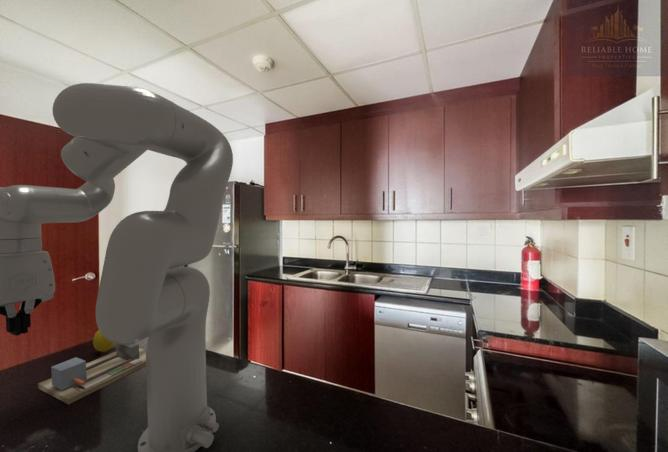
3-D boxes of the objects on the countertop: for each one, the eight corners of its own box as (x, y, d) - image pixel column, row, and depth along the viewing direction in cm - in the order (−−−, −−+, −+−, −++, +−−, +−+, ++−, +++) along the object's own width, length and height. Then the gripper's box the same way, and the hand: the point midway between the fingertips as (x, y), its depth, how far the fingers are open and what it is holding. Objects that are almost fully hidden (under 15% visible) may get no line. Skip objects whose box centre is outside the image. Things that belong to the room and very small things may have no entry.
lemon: (122, 348, 82) (121, 323, 81) (105, 357, 76) (104, 330, 76) (106, 347, 82) (105, 322, 82) (88, 356, 77) (87, 330, 76)
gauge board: (160, 358, 75) (159, 340, 75) (68, 404, 57) (67, 381, 57) (130, 349, 81) (129, 332, 81) (38, 388, 62) (37, 367, 62)
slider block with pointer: (95, 382, 62) (95, 364, 62) (70, 394, 58) (70, 375, 58) (76, 374, 65) (76, 357, 65) (52, 385, 61) (51, 366, 61)
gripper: (-40, 252, 46) (-35, 354, 47) (71, 244, 60) (74, 322, 60) (-54, 250, 49) (-49, 345, 50) (55, 243, 63) (58, 317, 63)
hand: (19, 332), depth 55 cm, fingers closed
